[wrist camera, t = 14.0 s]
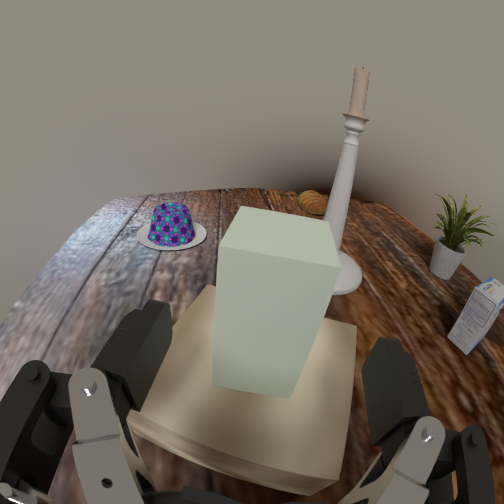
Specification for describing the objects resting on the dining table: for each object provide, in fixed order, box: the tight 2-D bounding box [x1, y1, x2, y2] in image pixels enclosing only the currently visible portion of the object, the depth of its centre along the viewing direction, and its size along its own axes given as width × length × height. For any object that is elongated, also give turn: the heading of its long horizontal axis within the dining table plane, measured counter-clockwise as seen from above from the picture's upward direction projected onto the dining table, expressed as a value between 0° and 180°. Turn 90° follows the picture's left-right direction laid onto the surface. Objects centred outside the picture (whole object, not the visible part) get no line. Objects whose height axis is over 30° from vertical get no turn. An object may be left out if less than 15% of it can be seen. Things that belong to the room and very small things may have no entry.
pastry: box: [298, 190, 327, 215], centre depth 64 cm, size 9×7×4 cm
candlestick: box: [323, 68, 370, 295], centre depth 34 cm, size 13×13×30 cm
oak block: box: [127, 284, 357, 496], centre depth 19 cm, size 14×14×6 cm
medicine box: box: [447, 277, 504, 355], centre depth 26 cm, size 8×4×9 cm, turn 112°
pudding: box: [137, 203, 207, 250], centre depth 44 cm, size 12×12×5 cm
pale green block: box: [212, 206, 341, 399], centre depth 15 cm, size 5×5×10 cm
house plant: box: [429, 195, 493, 280], centre depth 40 cm, size 14×14×16 cm
